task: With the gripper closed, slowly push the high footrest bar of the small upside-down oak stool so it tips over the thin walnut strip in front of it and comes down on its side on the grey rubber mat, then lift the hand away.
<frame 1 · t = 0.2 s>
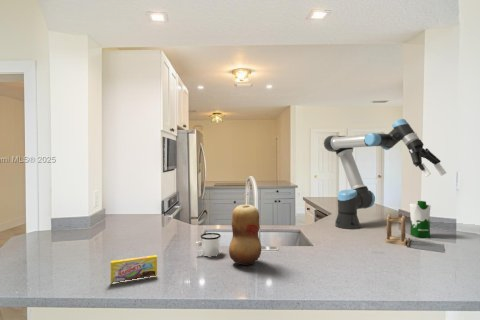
hand: (436, 174, 148), 35 cm above the worktop, tool tilted 35°, fingers open, 13 cm apart
candy box: (134, 281, 105), on the worktop
milk carton: (419, 236, 160), on the worktop
mug: (208, 255, 132), on the worktop
stool: (396, 242, 149), on the worktop
butternut squash: (245, 264, 120), on the worktop
strip: (408, 243, 146), on the worktop
mat: (426, 246, 142), on the worktop
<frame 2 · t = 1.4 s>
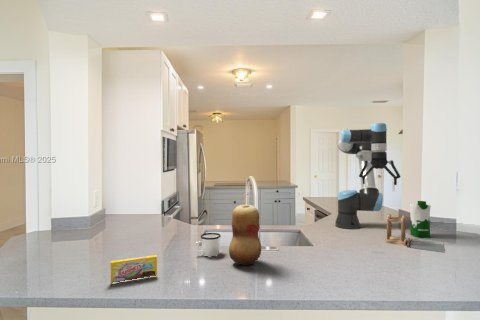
hand: (379, 190, 154), 27 cm above the worktop, tool pointing down, fingers open, 13 cm apart
nothing on the worktop moved.
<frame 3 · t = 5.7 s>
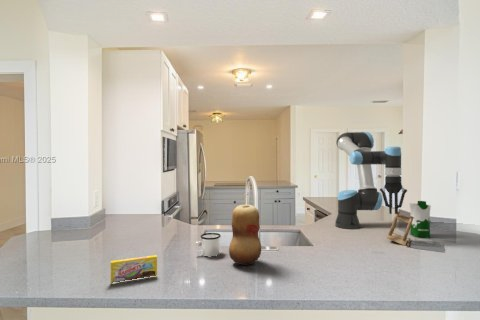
hand: (393, 220, 150), 11 cm above the worktop, tool pointing down, fingers closed
stool: (396, 239, 149), point 1 cm above the worktop, tilted 16°, touching gripper
everything else where it was.
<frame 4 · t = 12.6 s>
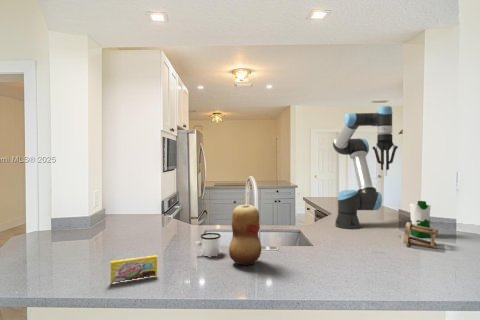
hand: (385, 175, 159), 34 cm above the worktop, tool pointing down, fingers closed
stool: (405, 231, 147), point 6 cm above the worktop, tilted 97°, touching mat, strip
everything else where it was.
at the end: stool tilted 97°; stool inside the target area (7.3 cm from its centre), point 5.9 cm above the worktop; stool touching mat, strip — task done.
